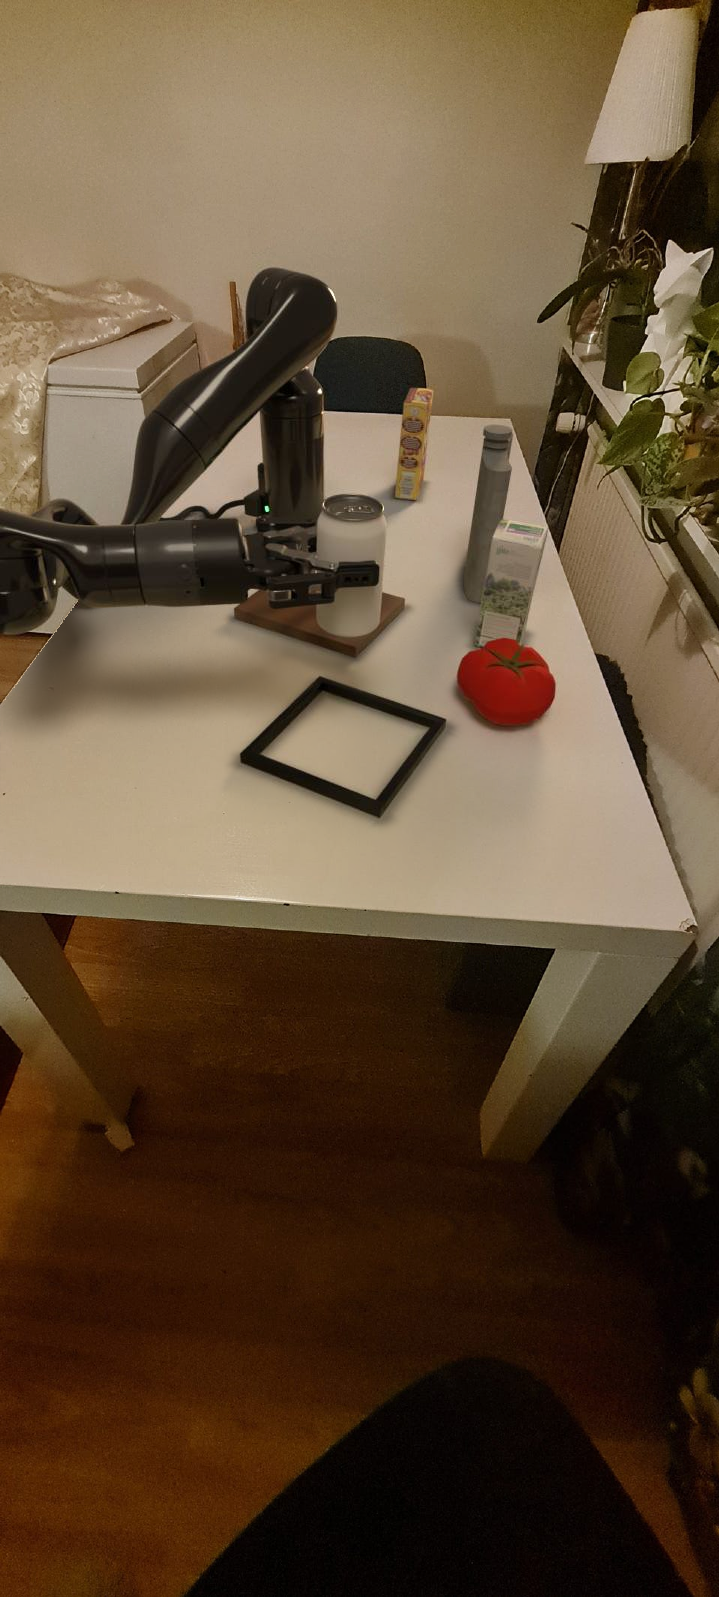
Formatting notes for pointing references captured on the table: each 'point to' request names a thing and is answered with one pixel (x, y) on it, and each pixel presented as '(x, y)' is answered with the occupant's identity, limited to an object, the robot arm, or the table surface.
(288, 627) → the board
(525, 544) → the syrup box
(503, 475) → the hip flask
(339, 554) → the can
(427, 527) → the table surface
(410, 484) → the candy box
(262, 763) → the black square frame
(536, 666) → the tomato
